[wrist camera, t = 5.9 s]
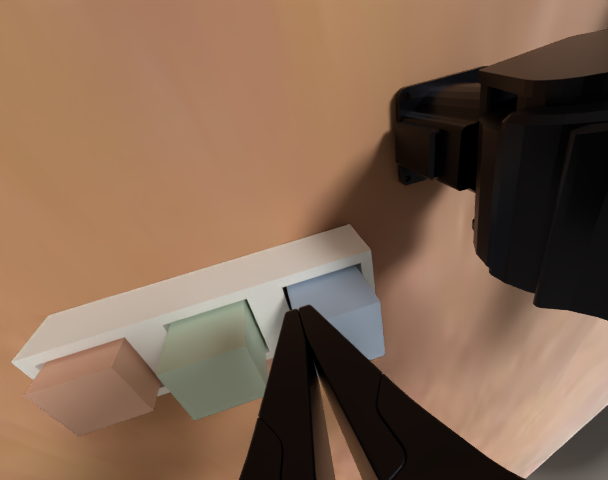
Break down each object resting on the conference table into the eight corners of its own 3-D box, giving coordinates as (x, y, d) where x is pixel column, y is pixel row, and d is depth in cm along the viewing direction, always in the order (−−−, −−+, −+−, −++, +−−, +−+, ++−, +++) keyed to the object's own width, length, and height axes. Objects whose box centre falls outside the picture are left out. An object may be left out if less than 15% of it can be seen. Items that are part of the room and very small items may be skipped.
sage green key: (243, 289, 20) (245, 345, 15) (263, 335, 22) (270, 394, 18) (173, 310, 19) (155, 375, 15) (202, 355, 22) (194, 420, 18)
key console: (349, 223, 22) (370, 249, 18) (359, 290, 26) (378, 322, 22) (48, 315, 20) (11, 362, 17) (106, 372, 24) (84, 420, 20)
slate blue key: (349, 256, 20) (380, 301, 16) (357, 304, 23) (385, 354, 19) (283, 276, 20) (297, 328, 16) (299, 323, 22) (314, 379, 18)
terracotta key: (137, 308, 20) (111, 367, 16) (168, 350, 23) (153, 410, 19) (67, 329, 20) (22, 395, 16) (107, 370, 23) (78, 436, 18)
